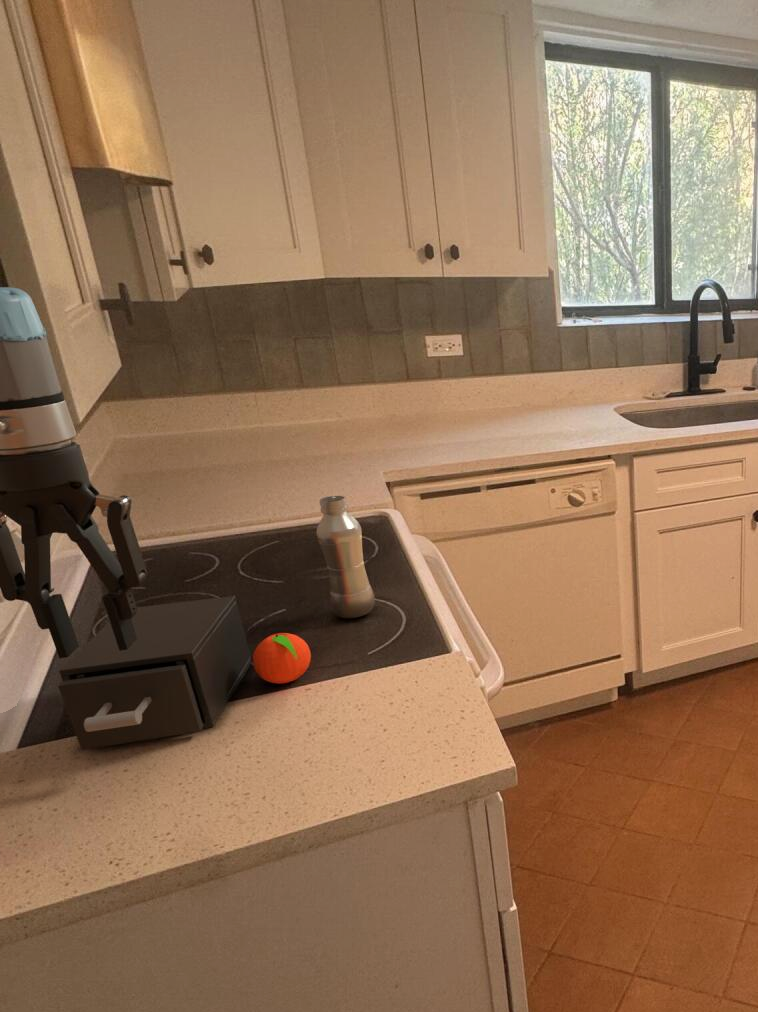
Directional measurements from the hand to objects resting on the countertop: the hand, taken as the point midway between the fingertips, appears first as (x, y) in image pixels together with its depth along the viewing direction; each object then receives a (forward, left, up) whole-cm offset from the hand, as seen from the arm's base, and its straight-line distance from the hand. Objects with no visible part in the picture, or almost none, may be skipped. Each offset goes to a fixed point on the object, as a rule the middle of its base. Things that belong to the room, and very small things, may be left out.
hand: (99, 648), depth 88 cm
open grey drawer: (-7, +4, -14) cm, 16 cm away
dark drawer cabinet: (-11, +7, -15) cm, 20 cm away
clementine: (-5, +19, -15) cm, 25 cm away
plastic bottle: (-20, +34, -15) cm, 42 cm away
